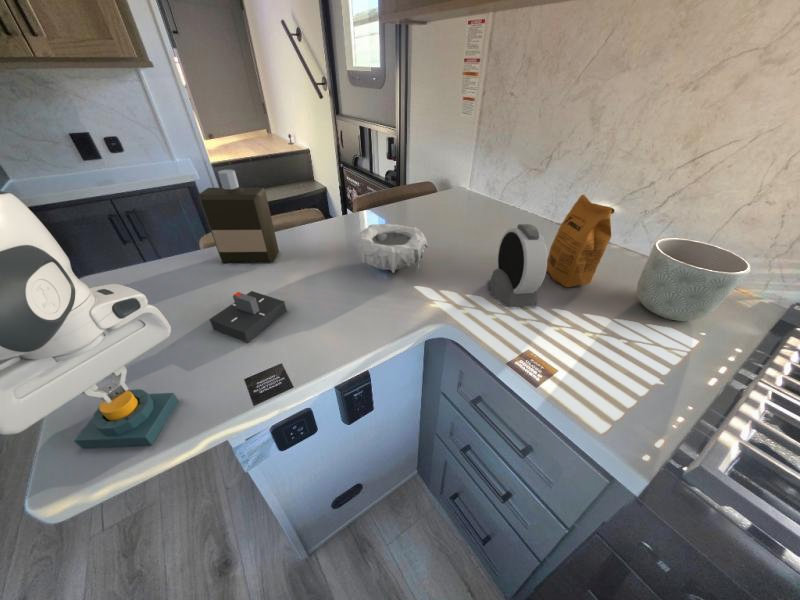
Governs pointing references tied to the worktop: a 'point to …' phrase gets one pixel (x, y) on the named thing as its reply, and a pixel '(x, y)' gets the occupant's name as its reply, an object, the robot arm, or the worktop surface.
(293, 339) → the worktop surface
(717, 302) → the planter
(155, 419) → the teal button mount
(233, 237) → the bottle
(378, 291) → the worktop surface
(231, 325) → the dark grey flat block
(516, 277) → the alarm clock
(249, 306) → the grey rectangular block
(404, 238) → the bowl
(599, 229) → the coffee package
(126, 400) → the trigger button
